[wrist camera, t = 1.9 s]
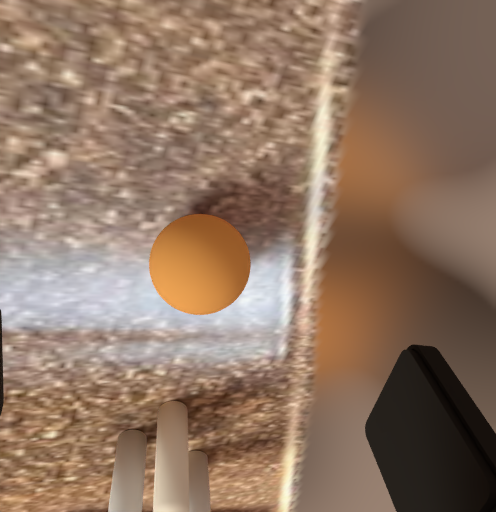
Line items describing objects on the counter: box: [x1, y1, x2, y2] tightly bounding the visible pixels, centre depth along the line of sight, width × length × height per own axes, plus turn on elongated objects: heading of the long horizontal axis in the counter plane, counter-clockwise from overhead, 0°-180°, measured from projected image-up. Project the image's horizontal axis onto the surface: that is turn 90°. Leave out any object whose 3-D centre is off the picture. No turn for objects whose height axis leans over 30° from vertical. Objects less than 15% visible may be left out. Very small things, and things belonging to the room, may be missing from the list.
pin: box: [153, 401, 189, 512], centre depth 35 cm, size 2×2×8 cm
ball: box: [149, 214, 250, 315], centre depth 28 cm, size 6×6×6 cm
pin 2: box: [188, 450, 211, 512], centre depth 38 cm, size 2×2×8 cm
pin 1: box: [108, 430, 147, 512], centre depth 36 cm, size 2×2×8 cm
